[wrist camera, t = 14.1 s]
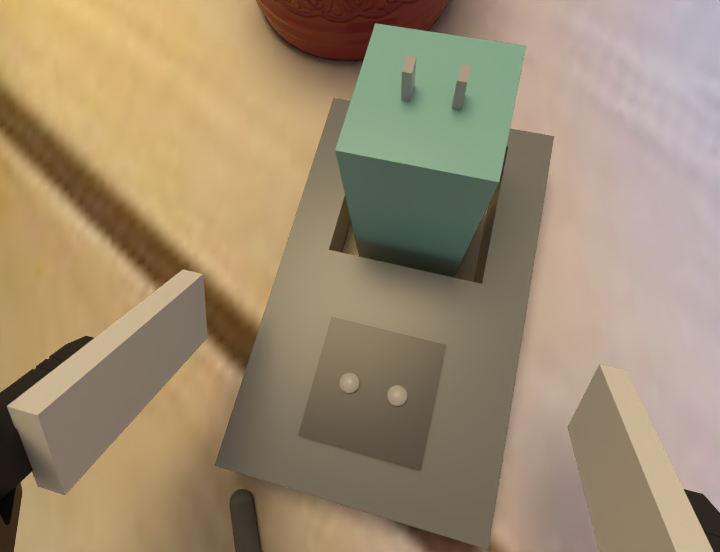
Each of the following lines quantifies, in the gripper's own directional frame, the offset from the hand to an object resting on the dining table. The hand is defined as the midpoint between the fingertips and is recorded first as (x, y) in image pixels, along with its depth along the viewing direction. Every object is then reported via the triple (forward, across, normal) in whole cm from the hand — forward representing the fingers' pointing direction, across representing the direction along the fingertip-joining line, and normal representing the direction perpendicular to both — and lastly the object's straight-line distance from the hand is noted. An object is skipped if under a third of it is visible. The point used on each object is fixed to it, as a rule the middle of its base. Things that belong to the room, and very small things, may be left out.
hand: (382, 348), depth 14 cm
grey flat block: (+7, 0, -3) cm, 8 cm away
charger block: (+10, 0, 0) cm, 10 cm away
